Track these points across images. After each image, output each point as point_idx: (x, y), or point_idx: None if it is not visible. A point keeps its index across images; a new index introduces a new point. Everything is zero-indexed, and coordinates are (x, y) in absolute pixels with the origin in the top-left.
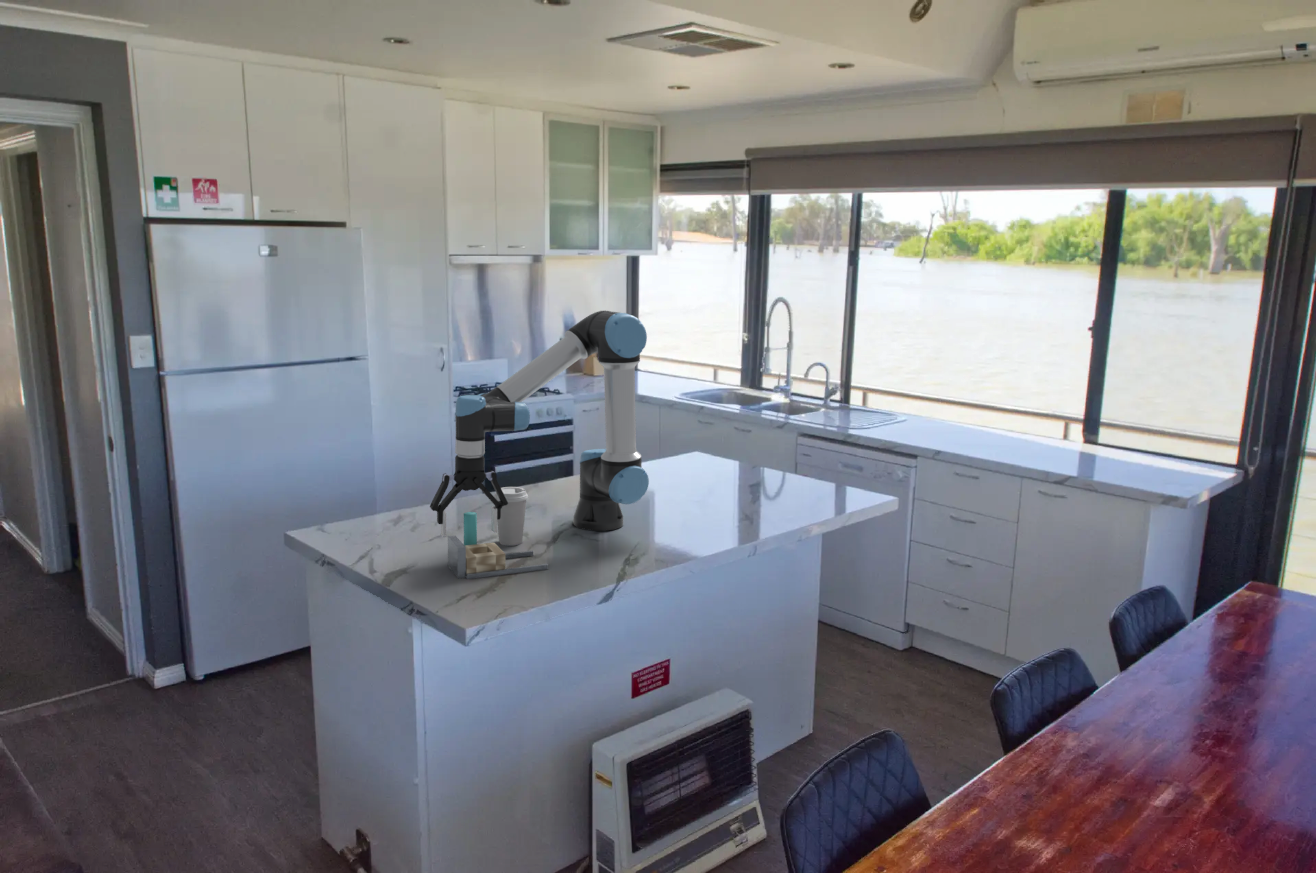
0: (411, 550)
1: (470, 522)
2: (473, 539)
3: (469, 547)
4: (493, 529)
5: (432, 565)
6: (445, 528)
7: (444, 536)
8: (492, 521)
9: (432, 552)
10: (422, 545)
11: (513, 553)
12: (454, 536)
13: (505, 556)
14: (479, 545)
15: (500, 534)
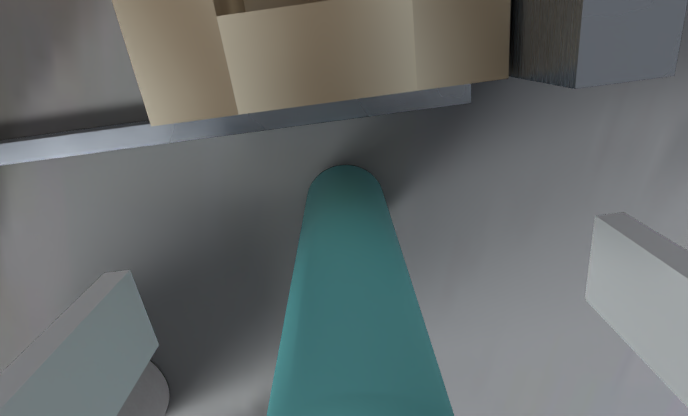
0: (614, 360)
1: (366, 314)
2: (329, 217)
3: (396, 12)
4: (125, 304)
5: (597, 101)
6: (668, 256)
7: (616, 215)
8: (99, 390)
9: (526, 316)
10: (541, 412)
11: (57, 142)
12: (602, 49)
13: (120, 125)
14: (292, 58)
15: (138, 414)
